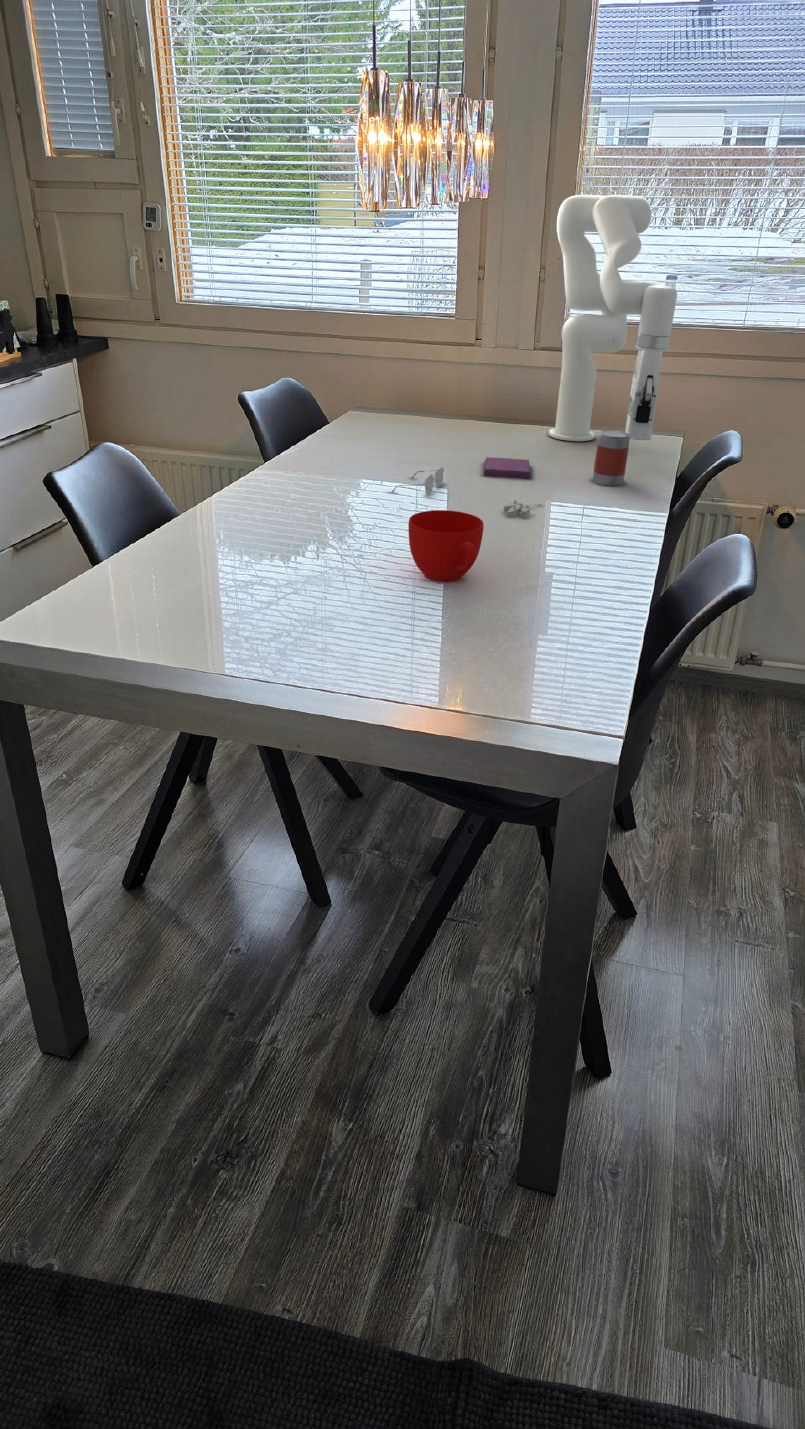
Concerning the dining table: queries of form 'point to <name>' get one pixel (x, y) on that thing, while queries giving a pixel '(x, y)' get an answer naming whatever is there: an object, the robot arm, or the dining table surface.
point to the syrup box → (633, 428)
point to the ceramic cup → (444, 543)
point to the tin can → (611, 458)
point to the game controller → (517, 508)
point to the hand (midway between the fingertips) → (640, 418)
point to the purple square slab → (507, 467)
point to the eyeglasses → (430, 481)
